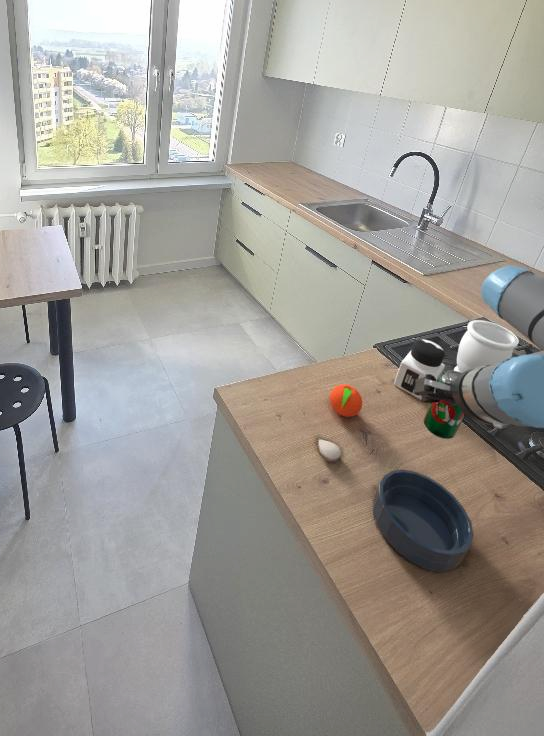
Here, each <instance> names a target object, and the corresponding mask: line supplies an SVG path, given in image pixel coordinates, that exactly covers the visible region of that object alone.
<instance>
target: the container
mask: <svg viewBox="0 0 544 736" xmlns="http://www.w3.org/2000/svg"><path fill="white" fill-rule="evenodd" d="M445 355H446V353H445V351H444V349H443V347H442V346H440V345H439V344H437V343H436V342H434V341H431V340H428V339H417V340H415V341H414V342H413V345H412V348H411V350H410V351H409V352H408V353H407V355H406V356H405V357H404V358H403V360H402V361H401V362H400V365H399V367H398V370H397V373H396V376H395V380H394V381H393V385H394V386H395V387H397V388H399V389H401V390H402V391H404V392H406V393H407V394H410V395H411V396H413V397H415V398H417V399H418V400H420V401H421V398H422V396H420V395H419V396H418V395H416V394H414V387H415V381H416V379H419V378H423V377H425V376H426V374H431V375H433V376H434V377H435V378H438V379H439V381H440V379H441V376H442V375H443V372H444V370H445V367H446V364H444V363H443V360H444V358H445Z"/></svg>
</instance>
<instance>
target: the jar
mask: <svg viewBox="0 0 544 736" xmlns="http://www.w3.org/2000/svg"><path fill="white" fill-rule="evenodd" d="M466 326H467V327H466V328H467V330H466V332H465V333H464V334H463V335H462V337H461V340H460V342H459V344H458V349H457V355H456V366H455V367H454V368H453V371H458V372H461V373H463V372H465V371H468V370H472V369H475V368H478V367H482V366H487V365H492V364H496V363H499V362H502V361H504V360H506V359H509V358H513V352H514V349H516V348H517V346H518V344H519V341H520V340H519V338H518V337H517V336H516V335H515V333H513V331H511V330H509V329H508V328H506V327H505V326H503V325H500V324H498V323H496V322H495V323H494V322H492V321H488V320H484V319H474V320H473V319H472V320H470V321H469V322H468V323H467V325H466Z"/></svg>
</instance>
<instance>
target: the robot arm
mask: <svg viewBox="0 0 544 736" xmlns="http://www.w3.org/2000/svg"><path fill="white" fill-rule="evenodd" d="M480 293H481V294H480V295H481V298H482V300H483V302H484V303H485V304H486V305H487V306H488V307H489V309H491V310H492V311H493V312H494V314H496V316H498V317H499V318H500V319H501V320H504V321H505V322H506V323H507V324H508V325H510V326H511V327H512V328H513V329H515V331H517V332H519V334H521V335H522V336H523V337H525V338H526V340H528V341H530V343H532V344H533V345H535V346H536V348H537V349H539V351H536V352H532V353H528V354H527V353H526V354H522V355H516V356H512V357H511V358H509V359H506V360H504V361H502V362H499V363H496V364H492V365H487V366H482V367H478V368H475V369H472V370H468V371H465V372H463V373H461V374H460V375H459V376H458V377H457V378H456V379H455V380H454V381H446V382H445V383H444V384H443V383H440V382H439V381H440V380H439V379H438V378H435V377H434V376H433V375H431V374H426V376H425V377H423V378H419V379H416V381H415V387H414V394H416V395H418V396H419V395H420V396H422V398H421V400H420V402H421V403H424V404H430V403H431V402H435V401H436V400H441V401H446V402H447V403H450V404H453V405H456V406H458V407H459V408H460V410H461V411H462V412H463V413H464V414H465V415H464V416H466V417H468V418H469V419H470V420H473V421H474V422H476V423H479V424H482V425H487V426H493V427H494V428H496V429H497V430H502V429H503V428H504V427H503V426H512V427H513V426H514V427H531V428H535V429H543V430H544V273H542V274H535V273H534V271H531V270H529V269H526V268H524V267H521V266H517V265H516V266H515V265H506V266H502V267H500V268H498V269H496V270H494V271H492V272H491V273H490V274H489V275H488V276H487V277H486V278H485V279H484V280H483V283H482V284H481V289H480Z"/></svg>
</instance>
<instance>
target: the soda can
mask: <svg viewBox="0 0 544 736" xmlns="http://www.w3.org/2000/svg"><path fill="white" fill-rule="evenodd" d="M460 374H461V372H458V371H454V369H453V370H447V371H446V372H445V373H444V374H443V373H442V375H441V377H440V380H439V382H440V383H443V384H444V383H445V382H446V381H454V380H455V379H456V378H457V377H458V376H459V375H460ZM465 416H466V415H465V414H464V413H463V412H462V411H461V410H460V408H459V407H458V406H456V405H453V404H450V403H447V402H446V401H441V400H436V401H435V402H431V403H429V405H428V407H427V410H426V412H425V414H424V417H423V420H422V421H423V424H424V426H425V428H426V429H427V431H428V432H429V433H431V434H432V435H433V436H434V437H437V438H440V439H443V440H450V439H453V438H455V436H456V435H457V433H458V431H459V428H460V426H461V424H462V422H463V419H464V418H465Z"/></svg>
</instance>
